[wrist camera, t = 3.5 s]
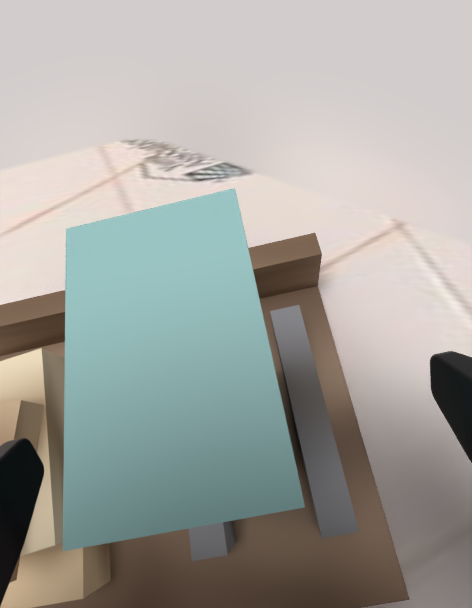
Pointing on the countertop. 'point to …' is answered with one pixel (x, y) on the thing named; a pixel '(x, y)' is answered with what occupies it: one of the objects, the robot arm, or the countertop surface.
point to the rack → (227, 535)
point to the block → (168, 378)
